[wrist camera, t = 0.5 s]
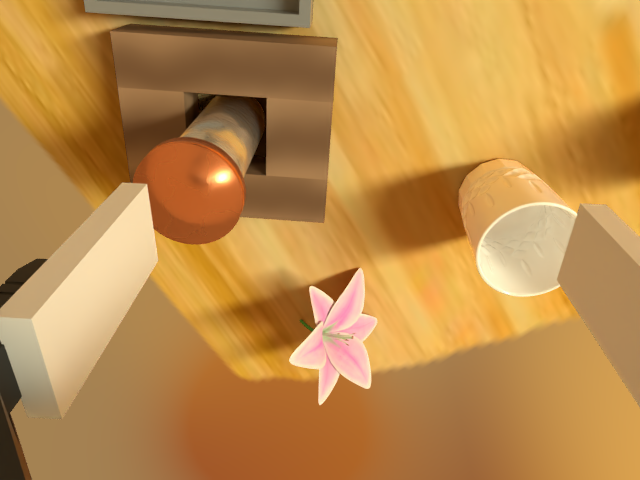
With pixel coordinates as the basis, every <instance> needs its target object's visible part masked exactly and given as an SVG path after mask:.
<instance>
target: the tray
mask: <svg viewBox="0 0 640 480" xmlns="http://www.w3.org/2000/svg"><path fill="white" fill-rule="evenodd" d="M84 5H85V12H90V13H104V14H119V15H133V16H147V17H162V18H176V19H190V20H205V21H219V22H234V23H248V24H262V25H277V26H291V27H305V28H310V26H311V24H312V16H313V0H84Z"/></svg>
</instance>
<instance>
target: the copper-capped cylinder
mask: <svg viewBox="0 0 640 480" xmlns="http://www.w3.org/2000/svg"><path fill="white" fill-rule="evenodd" d="M265 125H266V119H265V114H264V111H263V109H262V107H261V105H260V104H259V102H258V101H257V100H256V99H255V98H254V97H247V96H233V95H219V94H218V95H216V96H215V97H214V98H213V99H212V100H211V102H210V103H209V104H208V105H207V106H206V107H205V108H204V110H203V111H202V112H201V113H200V114H199V115H198V116H197V118H196V119H195V120H194V121H193V122H192V123H191V125H190V126H189V127H188V128H187V129H186V130H185V131H184V133H183V134H182V135H181V136H180V137H178V138H173V139H169V140H166V141H164V142H162V143H160V144H159V145H157V146H156V147H154V148H153V149H152V150H151V151H150V152H149V153H148V154H147V155H146V156H145V157H144V159H143V160H142V161H141V162H140V164H139V165H138V167H137V169H136V171H135V174H134V178H133V183H141V184H147V187H148V194H149V200H150V207H151V214H152V221H153V228H154V229H155V230H156V231H157V232H159V233H160V234H162V235H163V236H165V237H167V238H169V239H172V240H174V241H177V242H181V243H186V244H205V243H210V242H213V241H216V240H218V239H220V238H222V237H224V236H225V235H226V234H228V233H229V232H230V231H231V230H232V229H233V227H234V226H235V225H236V223H237V221H238V220H239V217H240V215H241V212H242V210H243V207H244V204H245V199H246V187H245V182H244V176H245V174H246V172H247V169H248V167H249V165H250V162H251V160H252V158H253V156H254V153H255V151H256V149H257V147H258V144H259V142H260V140H261V137H262V135H263V133H264V130H265Z"/></svg>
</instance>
